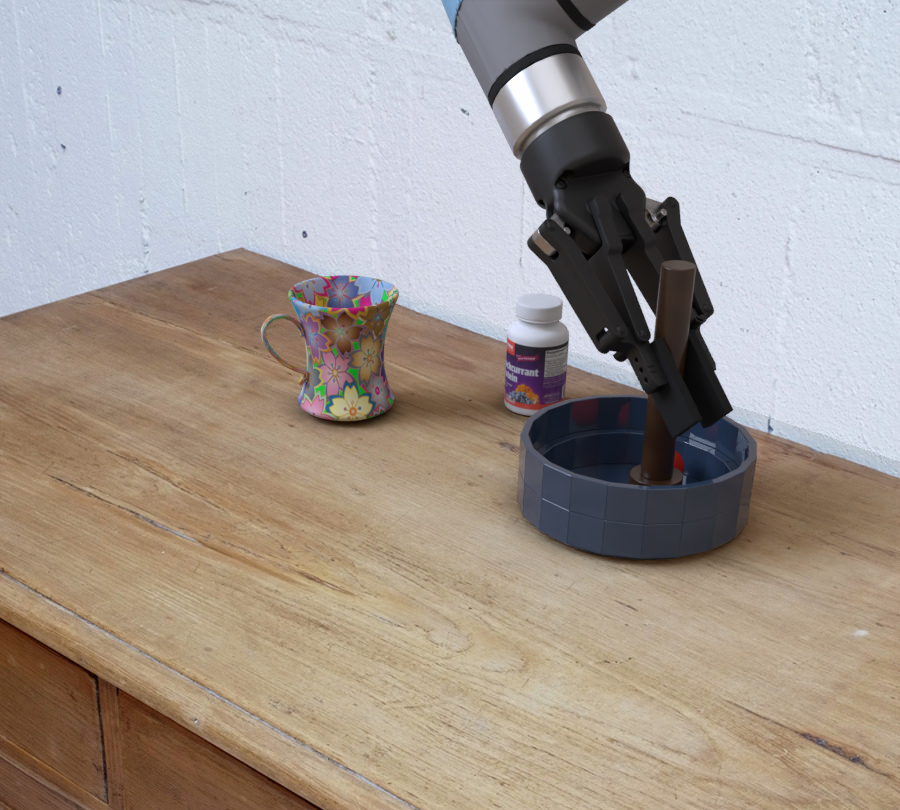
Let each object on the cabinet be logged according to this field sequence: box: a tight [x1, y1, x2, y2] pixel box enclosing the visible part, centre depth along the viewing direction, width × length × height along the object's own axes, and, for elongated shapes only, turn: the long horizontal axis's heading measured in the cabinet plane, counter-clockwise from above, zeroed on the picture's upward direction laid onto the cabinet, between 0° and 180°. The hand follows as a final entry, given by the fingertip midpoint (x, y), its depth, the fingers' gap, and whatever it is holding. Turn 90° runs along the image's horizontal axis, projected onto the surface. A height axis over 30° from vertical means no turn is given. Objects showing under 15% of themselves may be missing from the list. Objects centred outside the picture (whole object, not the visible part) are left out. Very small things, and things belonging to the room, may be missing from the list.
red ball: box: [674, 450, 684, 474], centre depth 102 cm, size 3×3×3 cm
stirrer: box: [629, 260, 696, 486], centre depth 94 cm, size 4×4×17 cm
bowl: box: [516, 393, 758, 561], centre depth 98 cm, size 17×17×6 cm
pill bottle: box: [503, 292, 570, 417], centre depth 115 cm, size 5×5×10 cm
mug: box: [260, 274, 400, 422], centre depth 113 cm, size 12×9×11 cm
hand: (702, 423), depth 93 cm, fingers closed on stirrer, 2 cm apart
